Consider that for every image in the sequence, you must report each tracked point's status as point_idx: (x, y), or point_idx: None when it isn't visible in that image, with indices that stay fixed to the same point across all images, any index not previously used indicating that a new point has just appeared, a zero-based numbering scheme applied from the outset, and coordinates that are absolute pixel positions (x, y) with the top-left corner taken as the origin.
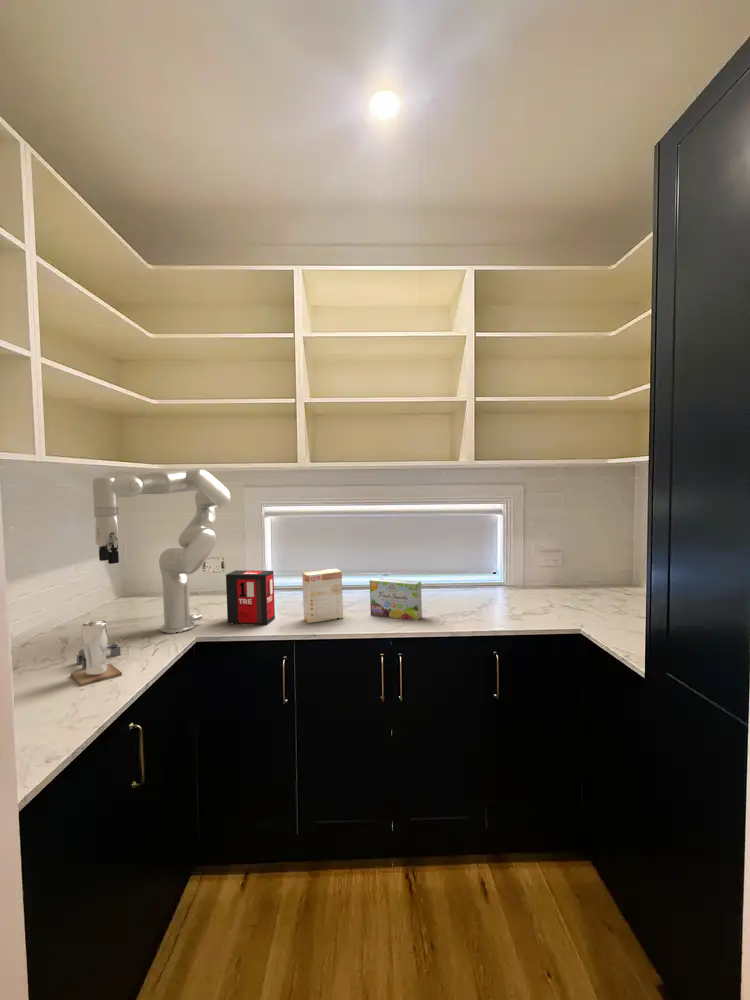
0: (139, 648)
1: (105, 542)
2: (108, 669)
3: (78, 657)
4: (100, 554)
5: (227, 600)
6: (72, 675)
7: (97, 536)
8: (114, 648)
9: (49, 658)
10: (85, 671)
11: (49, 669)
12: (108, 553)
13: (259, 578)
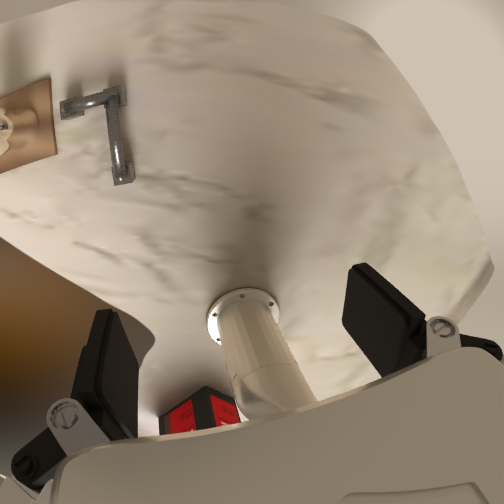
0: (142, 226)
1: (50, 500)
2: (23, 150)
3: (105, 89)
4: (380, 298)
5: (211, 423)
6: (35, 83)
7: (459, 493)
8: (112, 172)
9: (216, 40)
10: (18, 108)
11: (127, 36)
12: (79, 382)
13: None
